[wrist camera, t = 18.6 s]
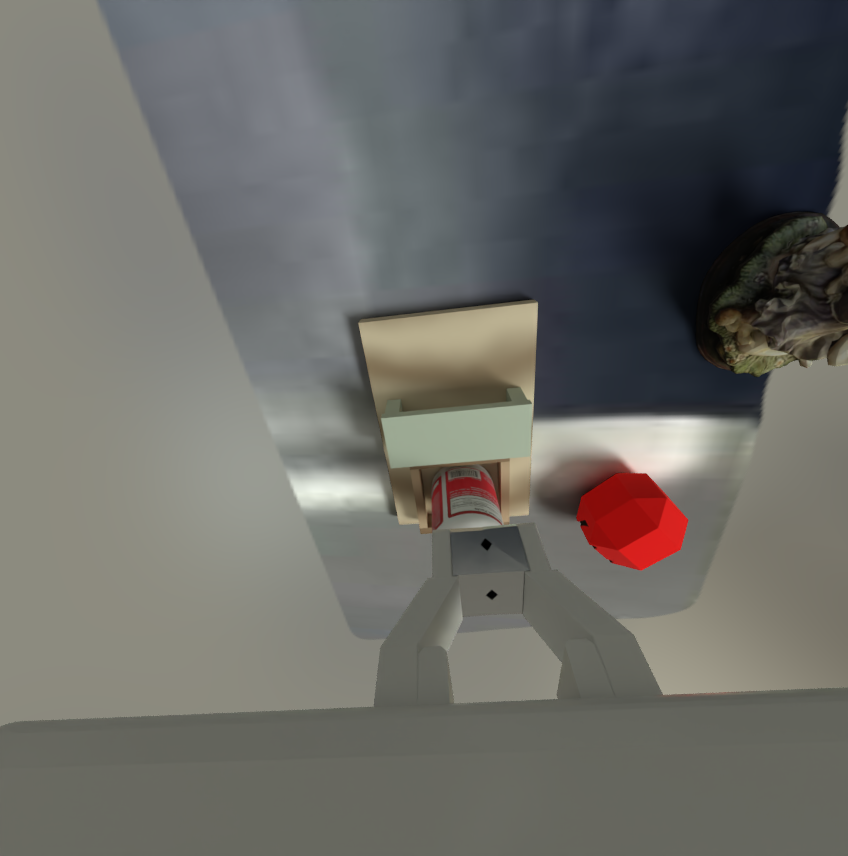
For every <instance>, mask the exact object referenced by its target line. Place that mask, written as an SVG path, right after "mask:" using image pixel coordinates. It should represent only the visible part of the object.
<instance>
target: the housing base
mask: <svg viewBox="0 0 848 856" xmlns="http://www.w3.org/2000/svg"><path fill="white" fill-rule="evenodd" d="M537 312H538V302H537V301H535V300H525V301H517V302H508V303H499V304H491V305H482V306H473V307H464V308H456V309H447V310H438V311H430V312H421V313H412V314H403V315H395V316H386V317H377V318H369V319H361V320H360V321H359V323H358V324H359V329H360V334H361V339H362V344H363V348H364V353H365V358H366V363H367V368H368V373H369V378H370V383H371V388H372V393H373V398H374V402H375V407H376V412H377V417H378V422H379V427H380V432H381V437H382V442H383V447H384V452H385V456H386V461H387V466H388V471H389V476H390V481H391V486H392V491H393V496H394V501H395V506H396V511H397V515H398V520H399V525H403V524H416V523H419V526H420V533H421V534H428V533H432V497H431V488H432V481H433V478H434V476H435V475H436V473H437V472H438V471H439V470H440V469H441V468H443V467H450V466H462V465H473V464H479V465H481V466H482V467H484V468H485V469H486V470H487V471H488V473H489V474H490V476H491V478H492V481H493V485H494V488H495V492H496V496H497V500H498V504H499V508H500V512H501V516H502V520H503V524H504V525H509V516H522V515H529V496H530V473H531V450H532V427H533V404H534V381H535V358H536V335H537ZM517 387H521V389H522V391H523V393H524V394H525V396H526V398H527V400H530V401H531V402H532V427H531V450H530V457H518V458H507V459H495V460H484V461H472V462H460V463H449V464H437V465H426V466H414V467H403V468H391V467H390V462H389V457H388V451H387V446H386V441H385V436H384V431H383V426H382V421H381V416H382V414H384V413H385V409H386V405H387V400H396V399H401V403H402V409H403V412H406V411H416V410H427V409H437V408H447V407H458V406H468V405H478V404H489V403H499V402H506V389H507V388H517Z"/></svg>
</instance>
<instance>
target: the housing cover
mask: <svg viewBox="0 0 848 856" xmlns="http://www.w3.org/2000/svg"><path fill="white" fill-rule="evenodd" d="M381 421H382V426H383V431H384V436H385V441H386V446H387V451H388V457H389V462H390V467H391V468H403V467H414V466H426V465H437V464H449V463H460V462H472V461H484V460H495V459H507V458H518V457H530V450H531V427H532V402H531V401H530V400H527V398H526V396H525V394H524V393H523V391H522V389H521V387H517V388H507V389H506V402H499V403H489V404H478V405H468V406H458V407H447V408H437V409H427V410H416V411H406V412H403V409H402V403H401V399H396V400H387V405H386V409H385V413H384V414H382V416H381Z"/></svg>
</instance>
